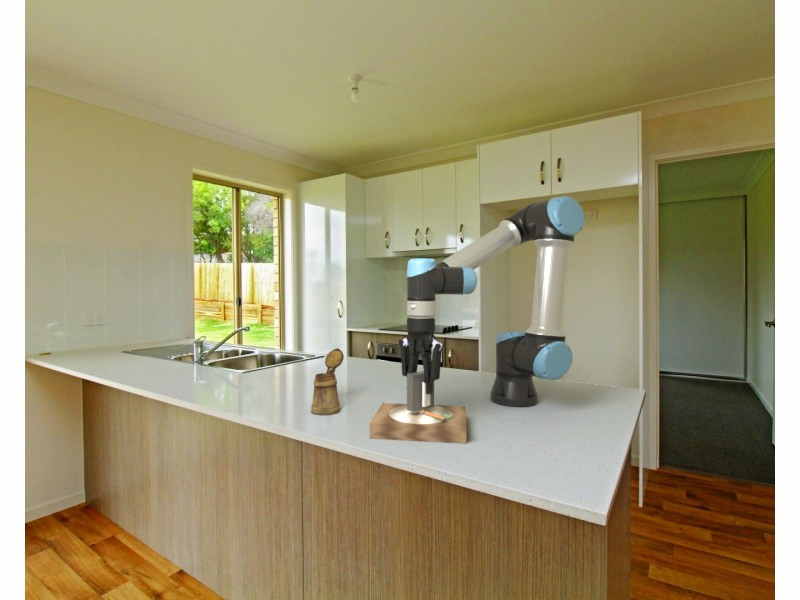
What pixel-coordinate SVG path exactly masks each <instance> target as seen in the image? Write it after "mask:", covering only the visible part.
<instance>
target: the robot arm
mask: <svg viewBox="0 0 800 600" xmlns="http://www.w3.org/2000/svg"><path fill="white" fill-rule="evenodd" d="M585 221H586V219H585V212H584V209H583V207H582V206H581V205H580V203H579V202H578V200H576V199H575V198H574V197H571V196H566V195H562V196H553V197H551V198H549V199H544V200H541V201H540V200H539V201H537V202H531V203H530V204H527V205H525V206H523V207H522V208H520V209H518V210H517V211H515V212H513V213H512V214H511V215H509V216H508V217H506V218H505V219H503V220H501V221H500V222H499V223H498V227H496V228H494V229H492V230H490V231H489V232H487V233H486V234H484V235H482V236H481V237H479V238H477V239H476V240H474V241H473V242H471V243H469V244H467V245H466V246H464V247H463V248H461V249H460V250H458V251H456V252H455V253H453V254H451V255H449V256H448V257H446V258H445V259H443V260H441V261H440V262H438V263H437V262H436V259H435V258H424V257H423V258H420V257H419V258H411V259H409V260H408V261H407V268H406V270H407V271H406V300H407V301H406V316H409V317H407V319H406V331H407V335H406V337H405V338H402V339H399V340H398V345H399V347H400V359H401V362H400V363H401V375H402V377H406V378H407V374H408V373H414V372H418V366H419V360H420V357H421V361H422V366H423V371H424V377H425V380H424V381H423V382H422V407H426V406H429V405H430V394H432V392H433V381H434V382H435V381H437V380H438V381H439V380H440V378H441V377H440V376H441V364H442V352H443V350H444V347H445V344H444V342H439V341H437V340H436V336H435V331H436V319H435V316H436V295H461V296H463V295H471V294H472V293H474V292H475V290H476V288H477V285H478V284H477V281H478V277H477V273H476V271H475V270H476V269H477V268H480V267H481V266H482V265H484V264H486V263H487V262H489V261H490V260H492V259H493V258H495V257H497V256H498V255H500V254H502V253H504V252H505V251H507V250H508V249H509V248H517V247H519V246H520V245H522V244H525V243H527V242H530V241H531V242H532V243H533V244H534V245H535V246H536V248H537V251H536V252H537V254H536V263H535V264H536V265H535V273H534V274H535V275H534V276H535V277H534V288H533V301H532V308H531V309H532V310H531V322H530V327H528V328H527V329H526V330H525V331H507V332H504V331H503V332H499V333H498V334H497V335H496V341H495V346H496V349H495V353H496V355H495V356H496V357H495V378H494V382H493V385H492V388H491V390H490V401H491V402H493V403H494V404H498V405H501V406H508V407H519V408H521V407H522V408H523V407H525V408H526V407H532V406H535V405H537V404H538V393H537V390H536V389H537V388H536V386H535V383H534V380H533V377H536V378H538V379H540V380H548V381H556V380H560V379H561V378H563V377H564V375H565V374H567V373H568V371H569V369H571V365H572V363H573V351H572V349H571V348H570V346H569V345H568V344H567V343H566V336H567V335H566V334H565V333H564V332H563V330H562V318H563V307H564V296H565V285H566V274H567V261H568V251H569V249H570V248H571V247H572V246H573V245H574V244H575V236H576V235H578V234H579V233H580V232H581V231H582V230H583V228H584V226H585V223H586V222H585Z"/></svg>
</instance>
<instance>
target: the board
mask: <svg viewBox="0 0 800 600" xmlns="http://www.w3.org/2000/svg"><path fill="white" fill-rule="evenodd" d="M425 411H428V412H431V413H434V414H437V415H440V416H442V417H445V420H442V419H439V418H436V417H434V416H431V415H428V414H425ZM369 439H376V440H377V439H378V440H393V441H411V442H412V441H413V442H430V443H431V442H433V443H449V444H467V408H466V406H464V405H463V406H462V405H443V404H441V405H440V404H438V405H437V404H434V407H431V408H427V409H424V413H423V414H419V413H417V411H414V412H412V411H409V410H407V403H396V402H395V403H392V402H382V403H381V405H380V406H379V408H378V409H377V411H376V413H375V414H374V416H373V417H372V419H371V420H370V421H369Z"/></svg>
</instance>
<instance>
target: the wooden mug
mask: <svg viewBox="0 0 800 600" xmlns="http://www.w3.org/2000/svg"><path fill="white" fill-rule="evenodd" d="M326 354H327V355H326V357H325V361H324V363H325V367H327V369H326V370H327V371H326V372H325V373H324V372H322V373H321V372H320V373H317V374H315V375H314V376H315V378H314V380H313V386H314V387H313V396H312V404H311V407H310V408H311V409H310V413H311V414H313V415H319V416H330V415H335V414H338V413H340V411H341V404H340V402H339V394H338V393H339V392H338V386H337V384H338V379H337V378H336V374H335V371H336V369H337V368H339V366H341V365H342V364H343V361H344V357H345V356H344V352H343V351H342V350H341V349H339V348H335V349H332V350H331V351H330V352H328V353H326Z"/></svg>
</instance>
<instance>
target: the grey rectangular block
mask: <svg viewBox="0 0 800 600" xmlns="http://www.w3.org/2000/svg"><path fill="white" fill-rule="evenodd" d="M424 380H425V377H424V370H420V371H417V372H414V373H408V374H407V377H406V404H407V410H409V411H412V412H414V411H417V413H419V414H423V413H424V409H427V408H431V407H434V405H435V381H433V392H432V394H430V405H429V406H426V407H422V382H423V381H424ZM425 414H428V415H431V416H434V417H436V418H439V419H442V420H445V417H442V416H440V415H437V414H434V413H431V412H428V411H425Z"/></svg>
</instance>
